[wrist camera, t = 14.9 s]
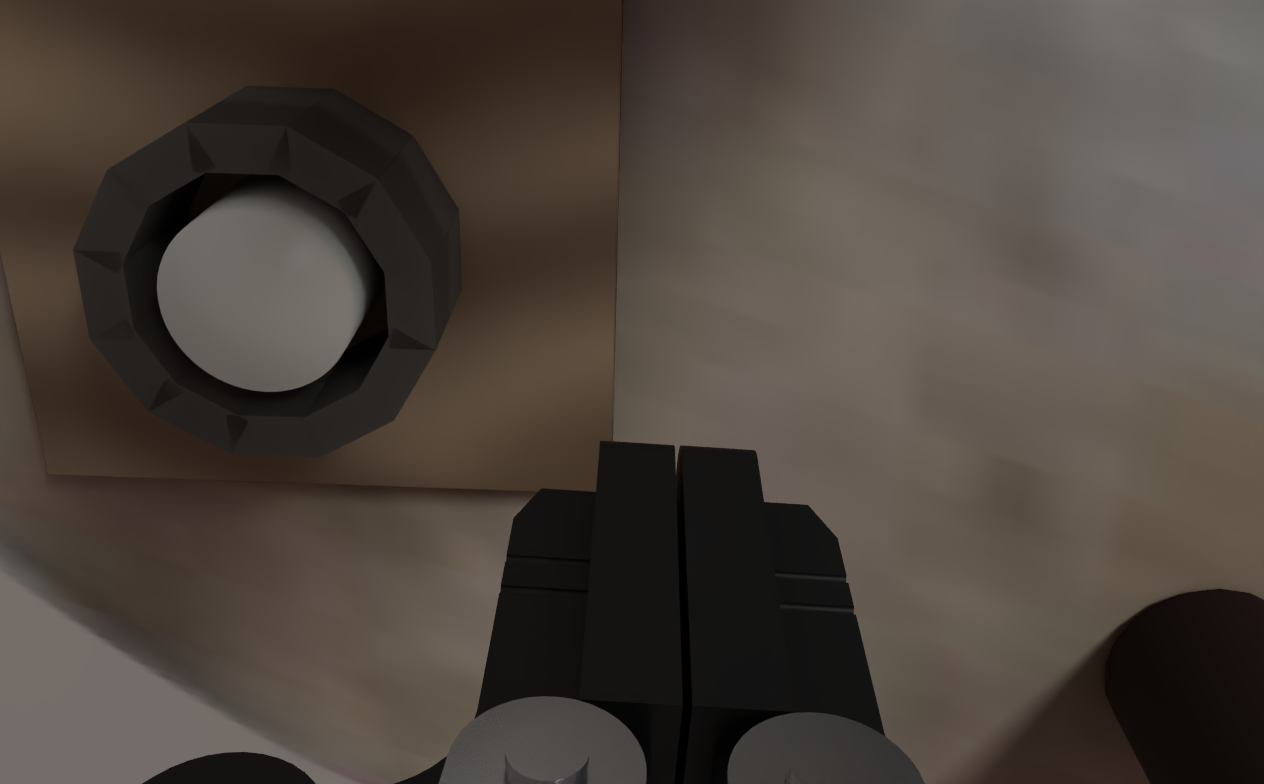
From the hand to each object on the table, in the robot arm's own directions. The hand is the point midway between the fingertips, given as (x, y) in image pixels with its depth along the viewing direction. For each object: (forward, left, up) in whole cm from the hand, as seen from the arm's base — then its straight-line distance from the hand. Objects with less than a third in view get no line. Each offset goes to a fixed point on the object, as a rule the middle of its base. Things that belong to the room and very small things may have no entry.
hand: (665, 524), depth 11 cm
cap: (+5, -10, -22) cm, 25 cm away
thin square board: (+5, -10, -24) cm, 26 cm away
